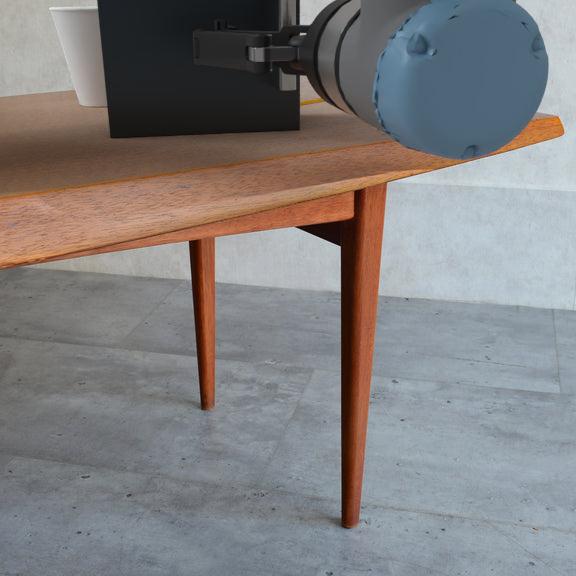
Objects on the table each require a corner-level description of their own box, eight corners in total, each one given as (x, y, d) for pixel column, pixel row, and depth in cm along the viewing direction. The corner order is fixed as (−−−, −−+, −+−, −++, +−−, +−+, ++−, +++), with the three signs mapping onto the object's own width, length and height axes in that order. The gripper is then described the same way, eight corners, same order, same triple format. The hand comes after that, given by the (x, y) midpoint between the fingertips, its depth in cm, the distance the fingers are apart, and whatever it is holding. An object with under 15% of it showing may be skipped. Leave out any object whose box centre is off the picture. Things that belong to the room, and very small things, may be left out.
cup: (68, 98, 106) (58, 6, 101) (152, 96, 107) (145, 5, 102) (52, 110, 95) (39, 7, 90) (145, 108, 96) (137, 6, 91)
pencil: (351, 98, 105) (351, 94, 105) (289, 109, 96) (289, 104, 95) (347, 98, 105) (347, 93, 105) (285, 109, 96) (284, 103, 96)
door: (313, 139, 74) (314, -79, 67) (109, 149, 70) (87, -82, 63) (298, 128, 80) (297, -73, 73) (110, 136, 76) (90, -75, 69)
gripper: (177, 126, 45) (161, 87, 65) (546, 111, 50) (428, 79, 69) (169, -5, 43) (154, -5, 62) (560, -8, 47) (433, -7, 67)
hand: (299, 39), depth 66 cm, fingers open, 13 cm apart
